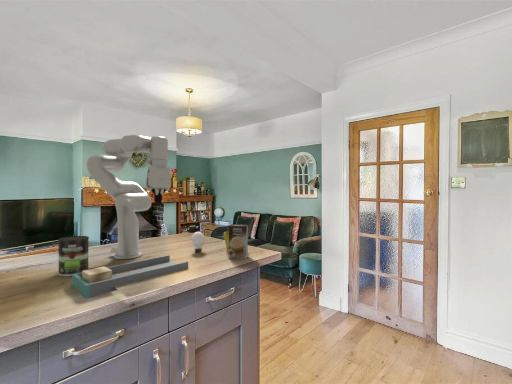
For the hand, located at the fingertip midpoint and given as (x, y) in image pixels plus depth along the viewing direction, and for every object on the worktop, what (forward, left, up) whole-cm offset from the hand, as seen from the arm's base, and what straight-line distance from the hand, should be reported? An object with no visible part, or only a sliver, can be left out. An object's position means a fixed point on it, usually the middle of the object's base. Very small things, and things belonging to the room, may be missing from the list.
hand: (158, 203), depth 124 cm
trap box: (+1, -22, -27) cm, 35 cm away
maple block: (-7, -33, -26) cm, 42 cm away
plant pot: (+31, +26, -28) cm, 49 cm away
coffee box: (+36, +12, -28) cm, 47 cm away
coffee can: (-27, -18, -28) cm, 43 cm away
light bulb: (+13, +20, -28) cm, 36 cm away
